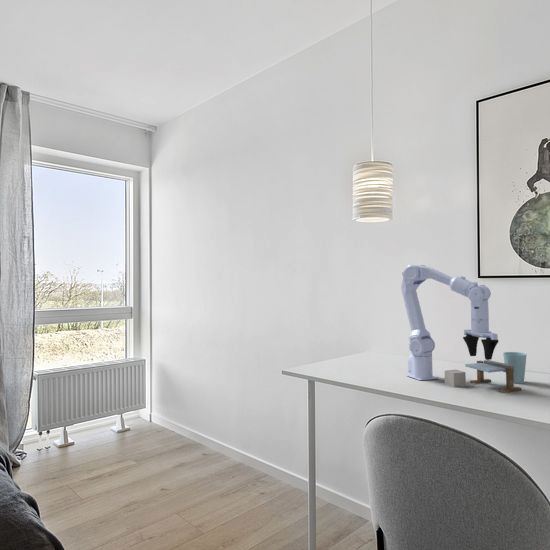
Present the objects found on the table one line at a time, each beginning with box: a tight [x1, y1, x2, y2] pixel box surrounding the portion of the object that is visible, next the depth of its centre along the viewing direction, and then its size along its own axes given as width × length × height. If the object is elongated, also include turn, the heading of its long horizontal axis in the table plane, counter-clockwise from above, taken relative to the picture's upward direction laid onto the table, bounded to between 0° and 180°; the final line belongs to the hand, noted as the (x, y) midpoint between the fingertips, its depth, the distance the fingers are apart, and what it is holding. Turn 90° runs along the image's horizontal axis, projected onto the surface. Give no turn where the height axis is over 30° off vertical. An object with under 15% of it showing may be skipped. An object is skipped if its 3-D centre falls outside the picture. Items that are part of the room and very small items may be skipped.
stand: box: [469, 360, 523, 393], centre depth 161 cm, size 16×8×8 cm, turn 16°
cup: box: [502, 351, 528, 384], centre depth 167 cm, size 8×8×10 cm
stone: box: [444, 369, 467, 388], centre depth 165 cm, size 5×5×5 cm
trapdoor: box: [464, 359, 514, 373], centre depth 161 cm, size 12×10×2 cm
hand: (480, 357), depth 161 cm, fingers open, 7 cm apart
